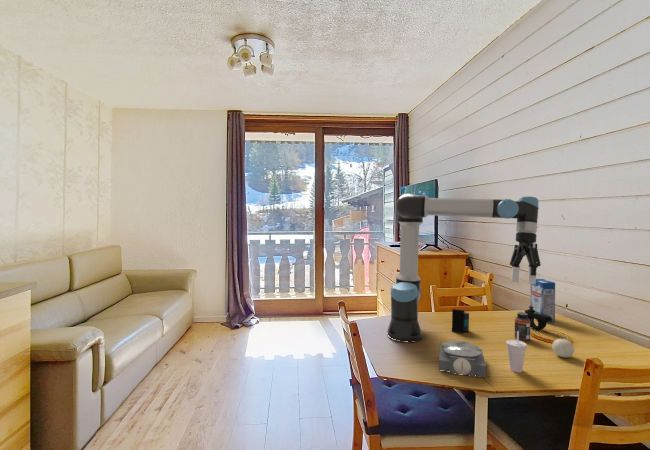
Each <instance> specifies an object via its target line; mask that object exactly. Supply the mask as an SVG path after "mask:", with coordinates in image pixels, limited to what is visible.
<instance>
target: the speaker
mask: <svg viewBox="0 0 650 450" xmlns="http://www.w3.org/2000/svg"><path fill="white" fill-rule="evenodd" d="M451 310H452V311H451V312H452V315H451V332H453V333H459V334H465V332H469V331H470V330H469V329H470V325H469V324H470V312H465V310H463V309H456V308H455V309H454V308H452V309H451Z"/></svg>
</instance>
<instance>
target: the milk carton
mask: <svg viewBox="0 0 650 450" xmlns="http://www.w3.org/2000/svg"><path fill="white" fill-rule="evenodd" d="M529 306H532V307H534V308H533V310H535V311H536V312H540V313H542V314H545V315H548V316H551V318H552V321H549V322H548V323H555V321H556V282H554V281H551V280H548V279H545V278H536V284H530V305H529Z"/></svg>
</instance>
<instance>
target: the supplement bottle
mask: <svg viewBox="0 0 650 450" xmlns="http://www.w3.org/2000/svg"><path fill="white" fill-rule="evenodd" d="M516 314H517V315H516V317H515V318H514V339H515V340H517V331H519V341H522V342H529V341H530V340H531V327H530V319H529V318H528V314H527V313H525V311H524V312H523V311H522V312H521V311H518V312H517V313H516Z"/></svg>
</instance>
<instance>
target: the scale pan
mask: <svg viewBox="0 0 650 450" xmlns="http://www.w3.org/2000/svg"><path fill="white" fill-rule="evenodd" d="M442 344H443V345H442V349H443V351H445V352H446V353H448V354H450V355H453V356H456V357H463V358H474V357H478V356H480V354H481V349H482V348H481V347H479V346H478V345H476V344H475V343H471V342H468V341H464V340H448V341H445V342H444V343H442Z"/></svg>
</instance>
